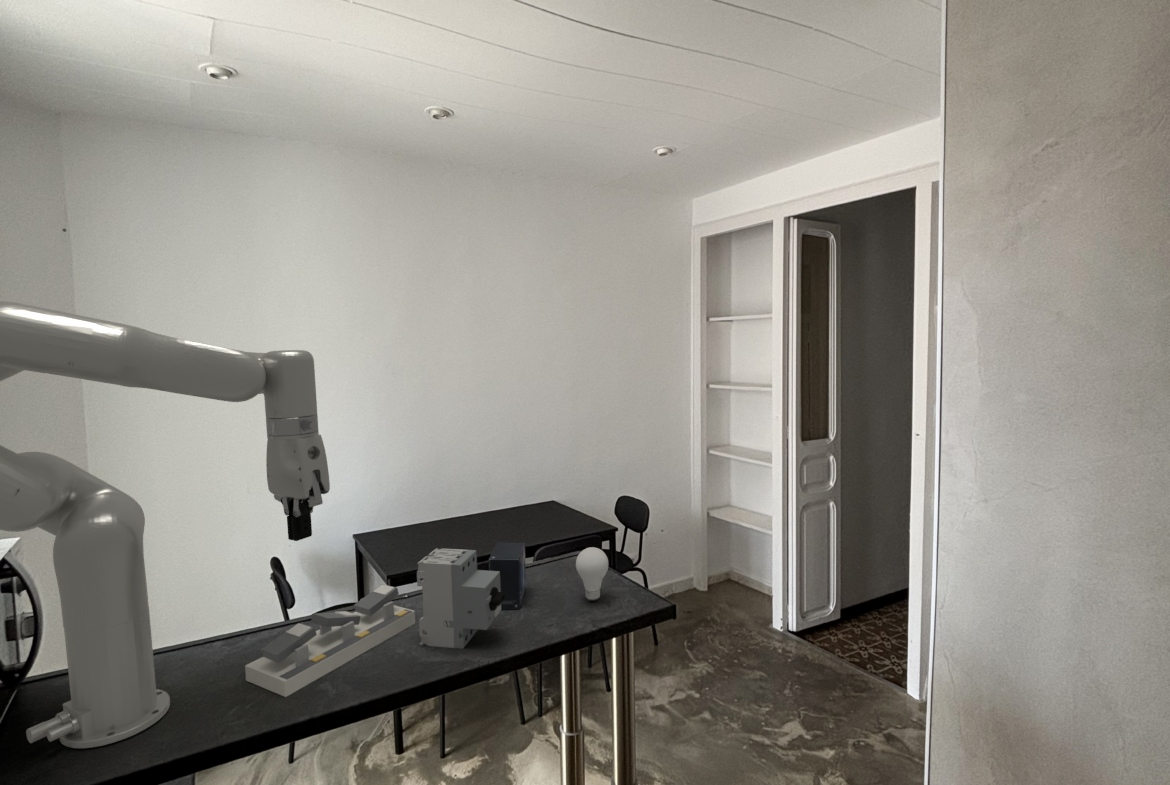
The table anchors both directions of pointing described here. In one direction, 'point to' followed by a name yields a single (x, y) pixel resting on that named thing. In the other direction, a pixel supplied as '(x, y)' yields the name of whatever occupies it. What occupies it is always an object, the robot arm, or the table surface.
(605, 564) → the light bulb
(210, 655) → the table surface
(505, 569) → the small box
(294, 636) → the rocker
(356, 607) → the rocker
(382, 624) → the switch unit
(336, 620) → the rocker
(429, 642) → the circuit breaker
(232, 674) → the table surface
